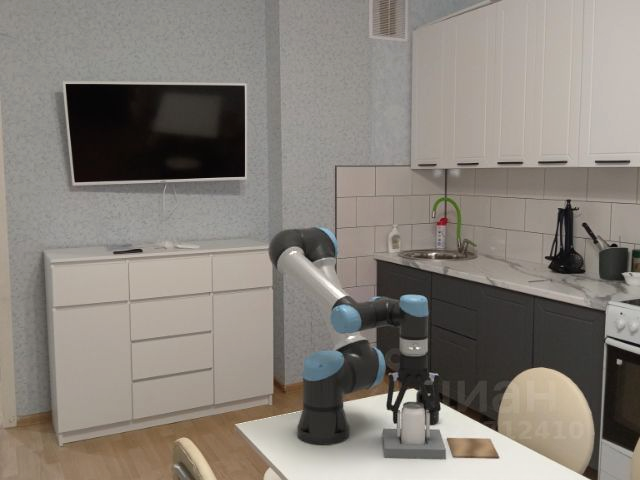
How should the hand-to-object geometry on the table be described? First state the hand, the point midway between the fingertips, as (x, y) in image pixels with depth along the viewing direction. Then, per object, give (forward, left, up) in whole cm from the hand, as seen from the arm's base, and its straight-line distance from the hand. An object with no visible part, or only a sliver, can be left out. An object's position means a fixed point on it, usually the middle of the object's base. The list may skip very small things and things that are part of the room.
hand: (413, 434), depth 178 cm
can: (0, 0, -4) cm, 4 cm away
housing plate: (0, 0, -4) cm, 4 cm away
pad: (+16, 0, -4) cm, 16 cm away
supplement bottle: (+6, +20, -4) cm, 21 cm away
